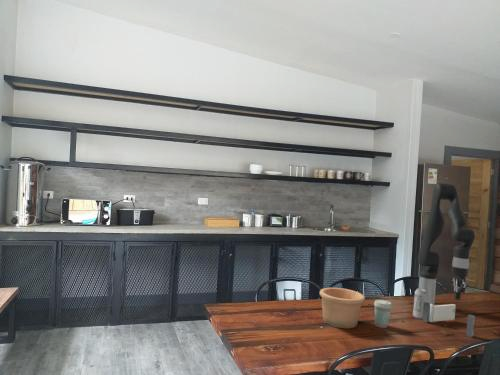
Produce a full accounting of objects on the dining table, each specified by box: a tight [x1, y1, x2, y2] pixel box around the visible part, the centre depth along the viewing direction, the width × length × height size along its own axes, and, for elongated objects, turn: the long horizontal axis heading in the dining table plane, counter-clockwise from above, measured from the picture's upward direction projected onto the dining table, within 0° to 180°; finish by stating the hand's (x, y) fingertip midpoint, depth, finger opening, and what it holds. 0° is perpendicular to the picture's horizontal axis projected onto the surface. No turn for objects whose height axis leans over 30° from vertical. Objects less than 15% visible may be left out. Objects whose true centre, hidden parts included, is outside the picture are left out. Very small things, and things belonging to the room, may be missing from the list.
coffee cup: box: [373, 299, 393, 329], centre depth 189 cm, size 8×8×12 cm
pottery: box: [319, 287, 366, 329], centre depth 189 cm, size 22×22×14 cm
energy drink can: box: [412, 288, 427, 320], centre depth 207 cm, size 6×6×15 cm
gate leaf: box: [428, 303, 457, 323], centre depth 201 cm, size 18×2×9 cm, turn 113°
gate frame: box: [421, 302, 476, 338], centre depth 192 cm, size 24×2×10 cm, turn 41°
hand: (457, 299), depth 198 cm, fingers closed
